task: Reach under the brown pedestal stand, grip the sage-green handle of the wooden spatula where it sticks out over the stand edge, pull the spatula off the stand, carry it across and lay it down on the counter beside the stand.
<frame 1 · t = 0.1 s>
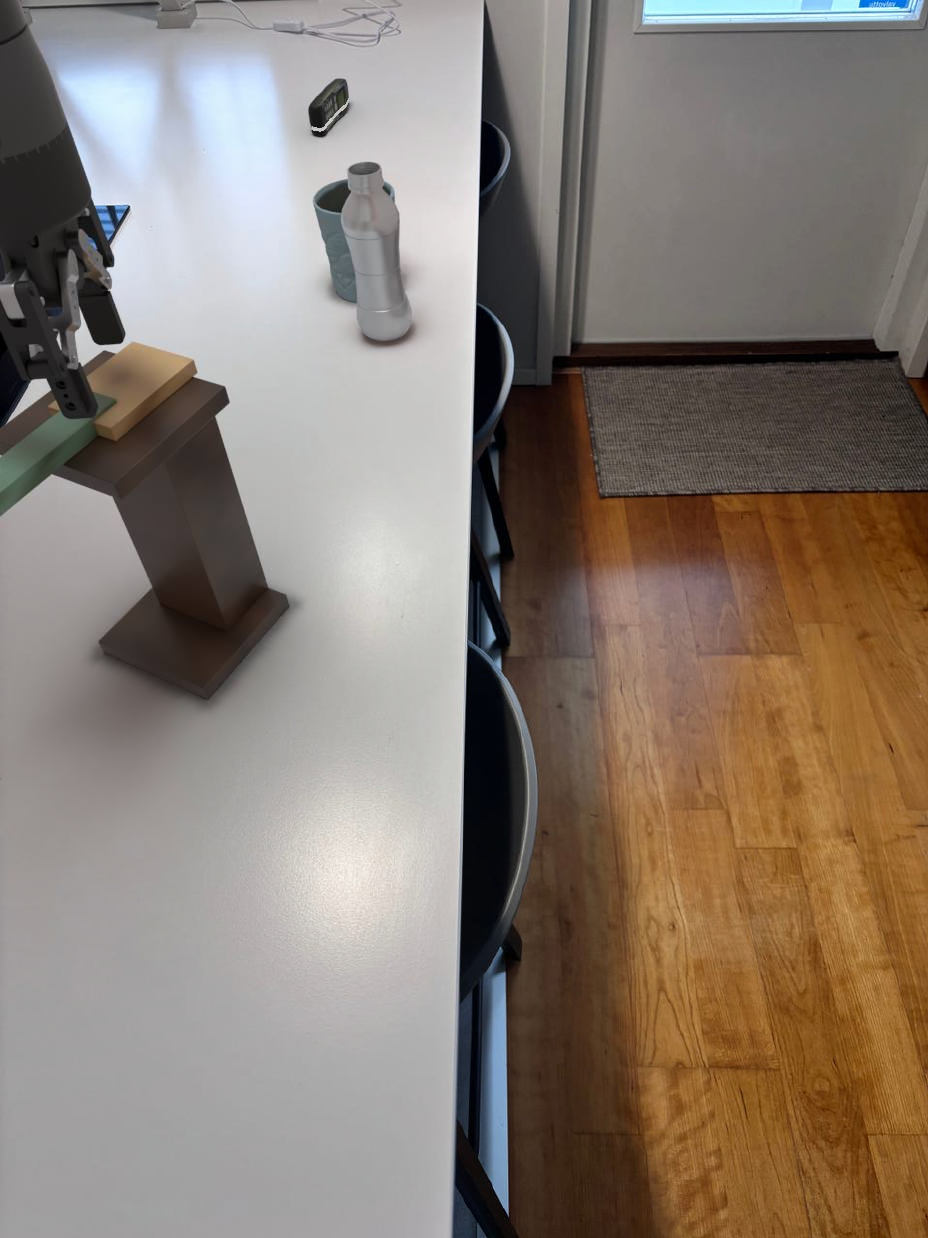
hand: (97, 377, 64), 28 cm above the counter, tool pointing down, fingers open, 8 cm apart
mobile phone: (333, 120, 163), on the counter
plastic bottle: (386, 334, 117), on the counter
spatula: (118, 403, 69), point 24 cm above the counter, touching brown pedestal stand
brown pedestal stand: (197, 628, 86), on the counter
blue-grey embossed cup: (366, 286, 125), on the counter
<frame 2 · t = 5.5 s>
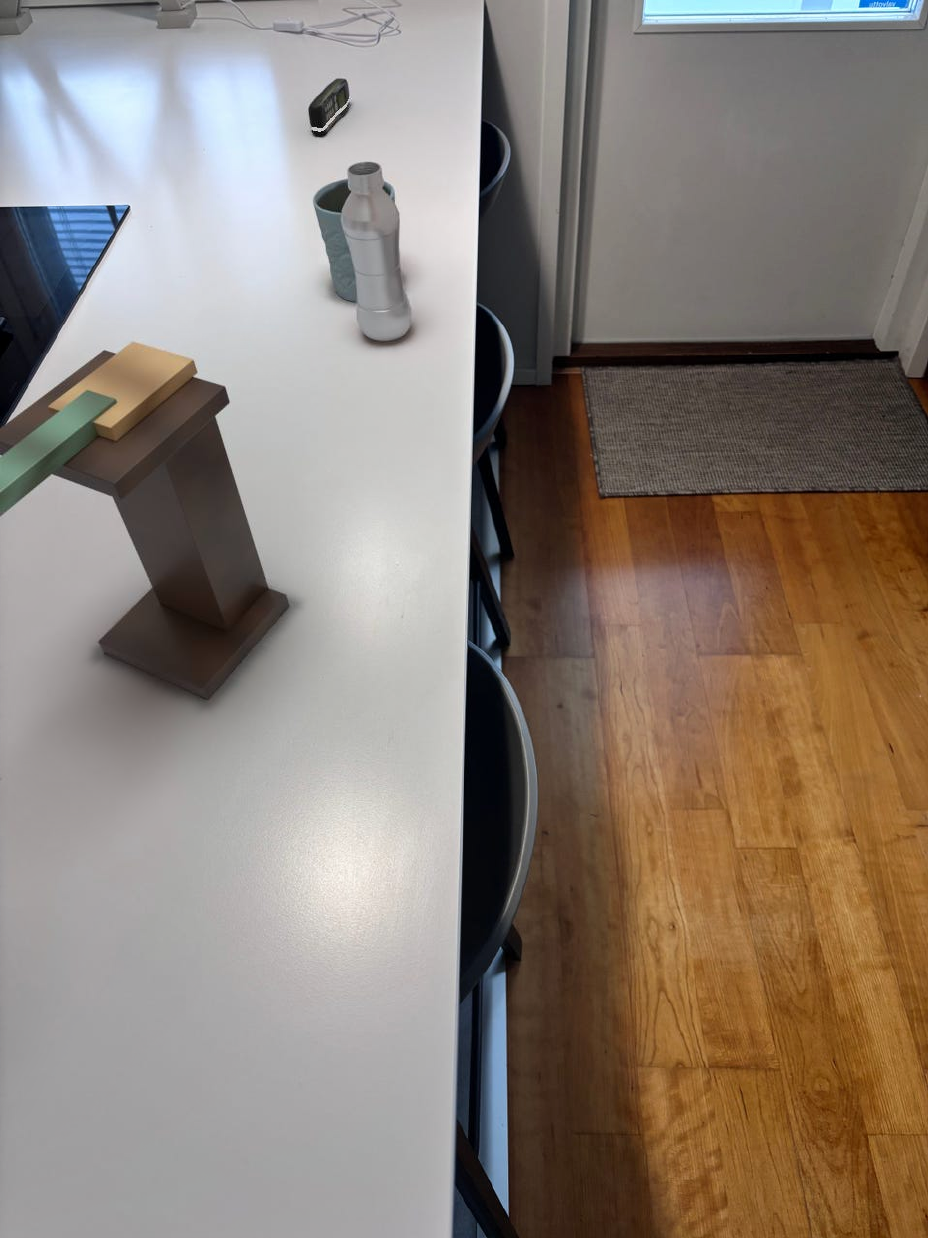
nothing on the counter moved.
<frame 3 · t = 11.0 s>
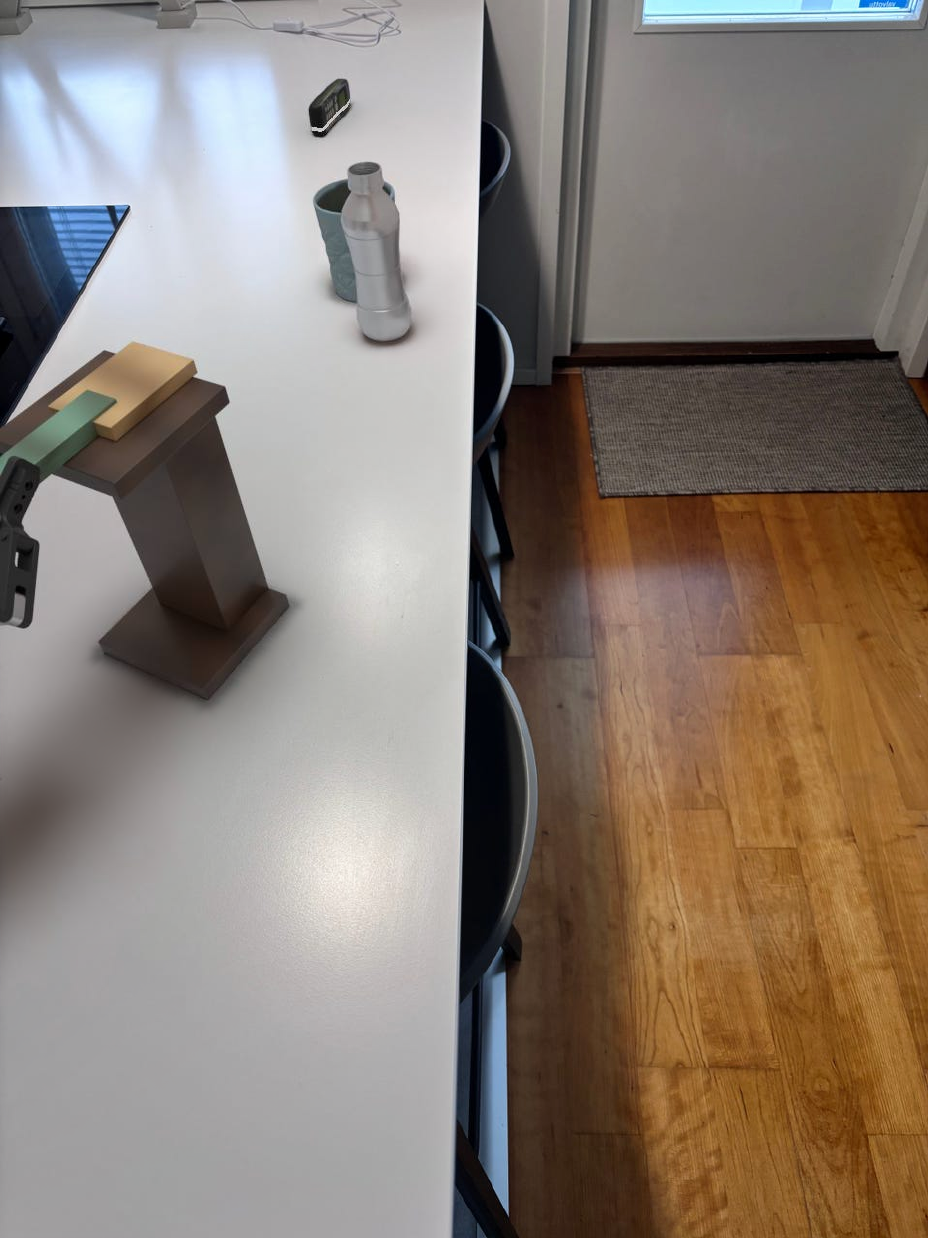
hand: (8, 455, 62), 26 cm above the counter, tool pointing upward, fingers closed on spatula, 3 cm apart
spatula: (118, 403, 69), point 24 cm above the counter, touching gripper, brown pedestal stand
everything else where it was.
when the fingers open (9 cm above the counter, at t = 26.9 s): spatula drops 3 cm, on the counter.
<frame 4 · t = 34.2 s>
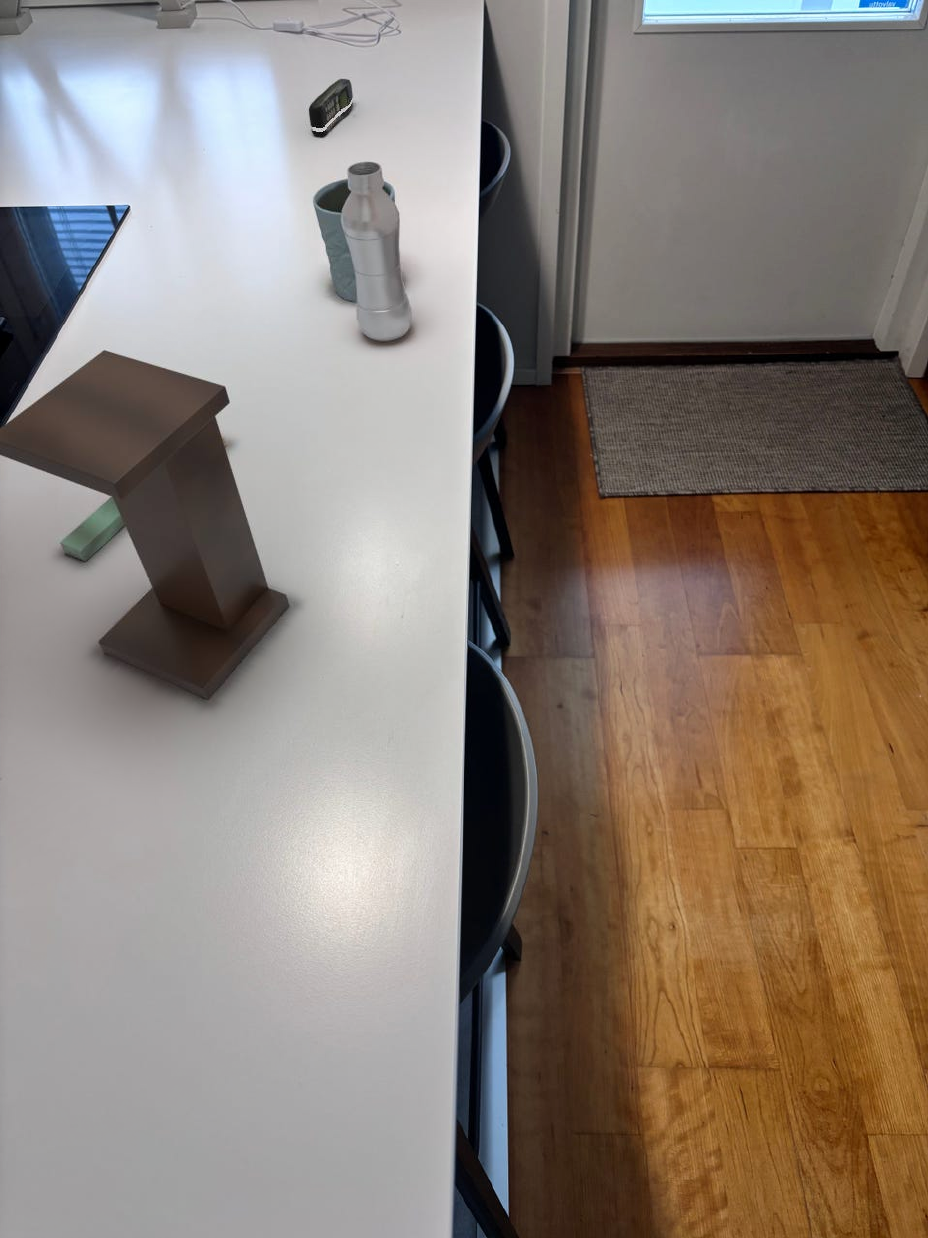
spatula: (173, 467, 102), on the counter
everything else where it was.
at the end: spatula inside the target area (4.6 cm from its centre), on the counter; spatula touching counter; the gripper is holding nothing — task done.
